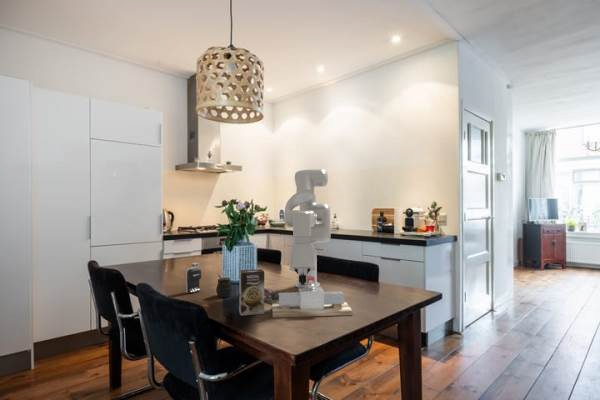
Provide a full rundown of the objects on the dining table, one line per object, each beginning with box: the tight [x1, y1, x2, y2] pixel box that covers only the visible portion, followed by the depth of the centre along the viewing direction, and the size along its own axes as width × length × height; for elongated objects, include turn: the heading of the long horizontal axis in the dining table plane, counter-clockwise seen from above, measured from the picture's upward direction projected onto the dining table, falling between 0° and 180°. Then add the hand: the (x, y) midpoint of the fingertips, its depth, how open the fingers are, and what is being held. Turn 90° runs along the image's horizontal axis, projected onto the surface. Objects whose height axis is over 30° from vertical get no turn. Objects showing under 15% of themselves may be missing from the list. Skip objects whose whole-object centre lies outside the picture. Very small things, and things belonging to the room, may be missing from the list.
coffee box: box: [238, 268, 265, 316], centre depth 135 cm, size 9×6×16 cm
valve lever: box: [307, 276, 315, 289], centre depth 143 cm, size 16×3×2 cm, turn 179°
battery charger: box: [185, 267, 202, 294], centre depth 166 cm, size 7×4×11 cm, turn 145°
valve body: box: [278, 286, 345, 311], centre depth 136 cm, size 7×25×7 cm, turn 95°
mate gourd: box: [215, 273, 233, 298], centre depth 160 cm, size 7×8×10 cm
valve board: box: [271, 301, 354, 319], centre depth 136 cm, size 12×30×3 cm, turn 95°
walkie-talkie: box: [264, 287, 278, 304], centre depth 155 cm, size 9×4×20 cm
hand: (302, 284), depth 147 cm, fingers closed
